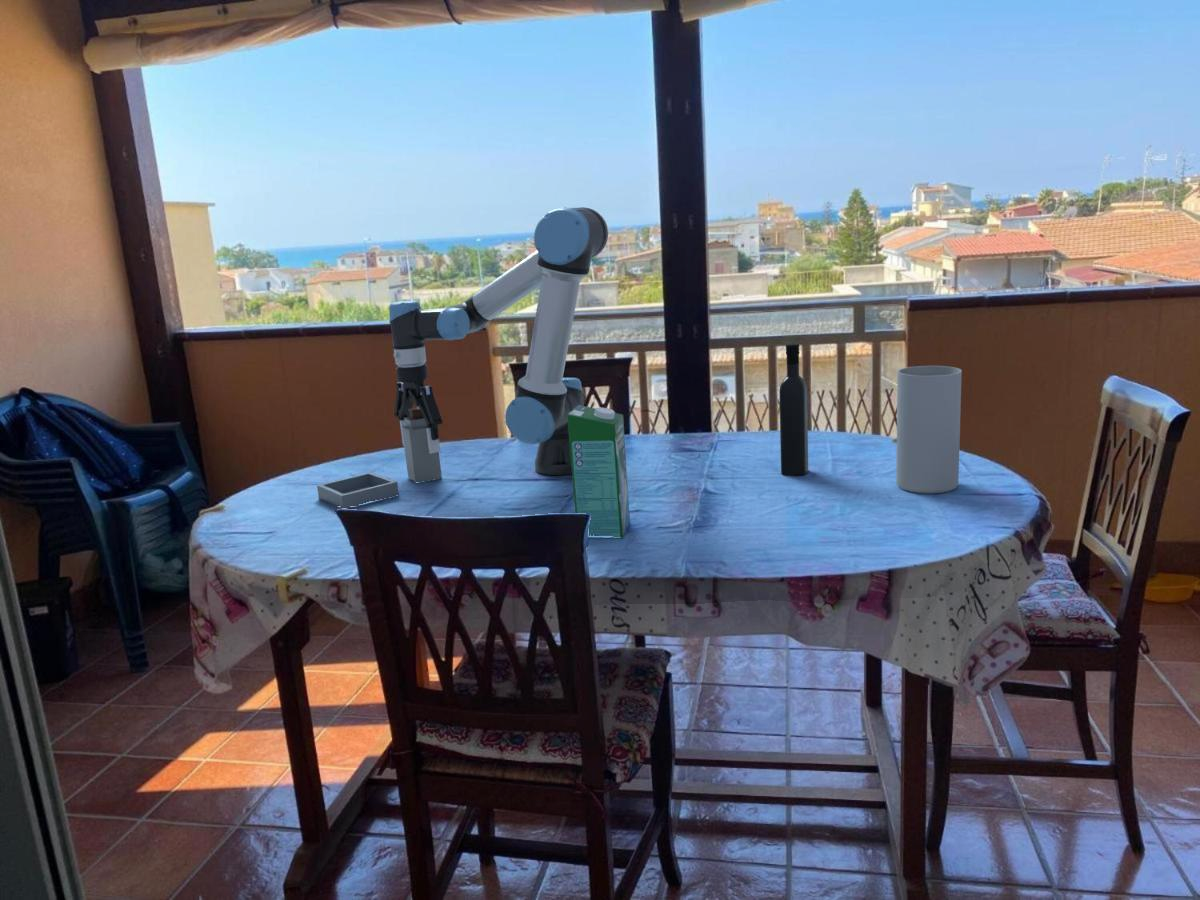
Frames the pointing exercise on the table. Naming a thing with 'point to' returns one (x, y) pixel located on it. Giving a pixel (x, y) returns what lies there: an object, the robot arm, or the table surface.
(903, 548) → the table surface
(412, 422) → the perfume bottle
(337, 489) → the tray
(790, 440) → the wine bottle
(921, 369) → the cylinder vase
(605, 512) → the milk carton
